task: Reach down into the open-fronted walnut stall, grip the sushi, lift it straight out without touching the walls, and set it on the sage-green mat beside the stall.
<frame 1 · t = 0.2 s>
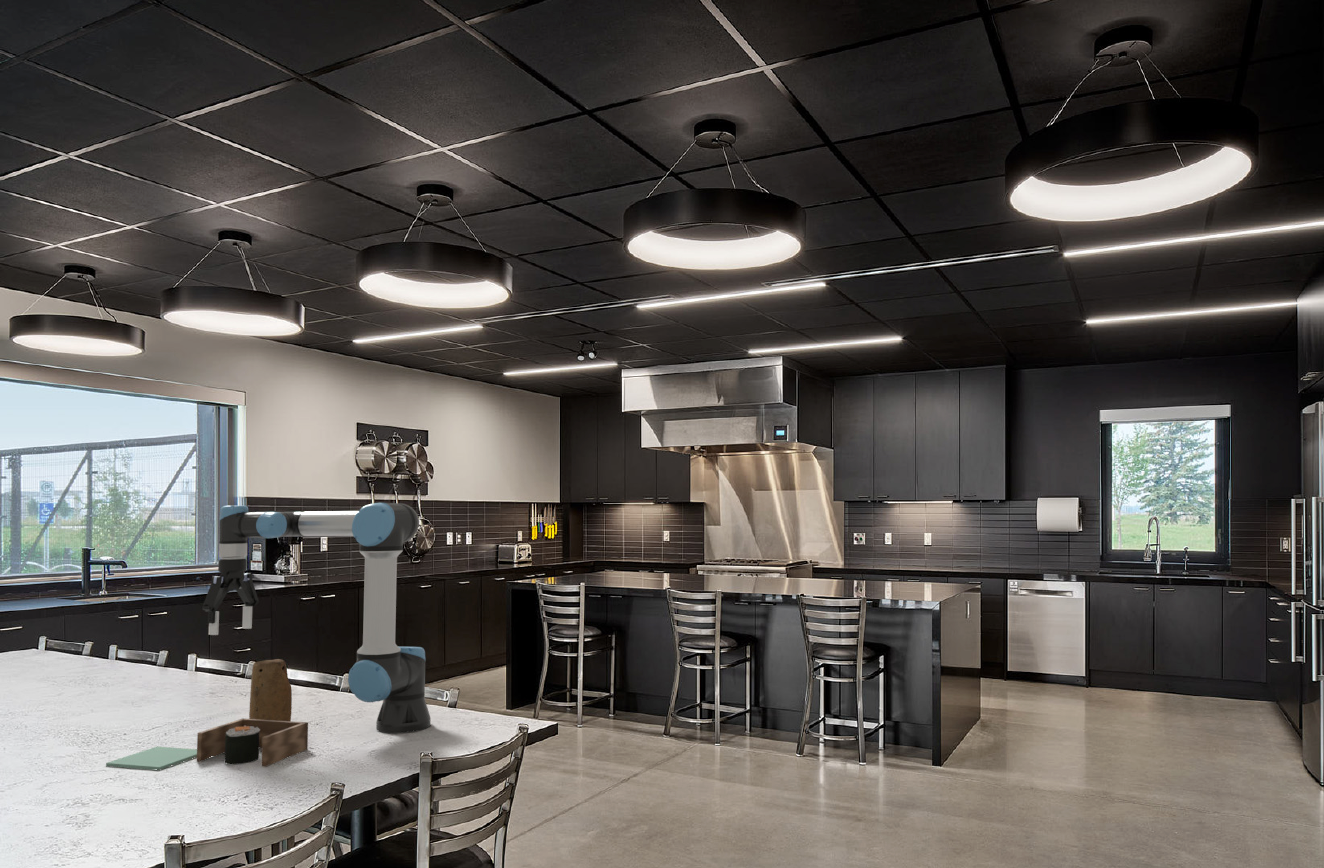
hand: (230, 631, 264), 28 cm above the table, tool pointing down, fingers open, 13 cm apart
mat: (158, 759, 230), on the table
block: (270, 732, 259), on the table
stall: (242, 759, 230), on the table
sushi: (242, 760, 230), on the table
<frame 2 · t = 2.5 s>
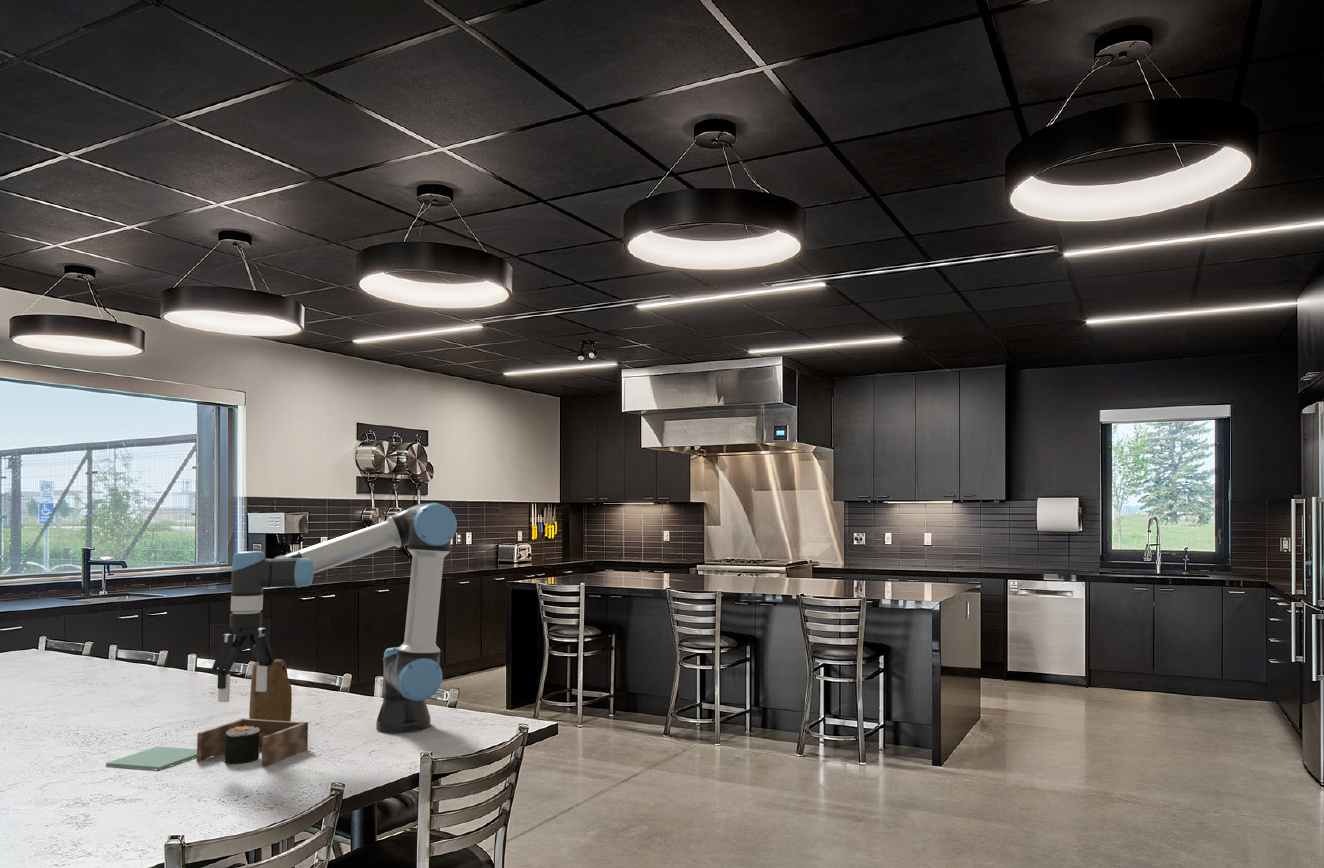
hand: (242, 696, 231), 16 cm above the table, tool pointing down, fingers open, 13 cm apart
nothing on the table moved.
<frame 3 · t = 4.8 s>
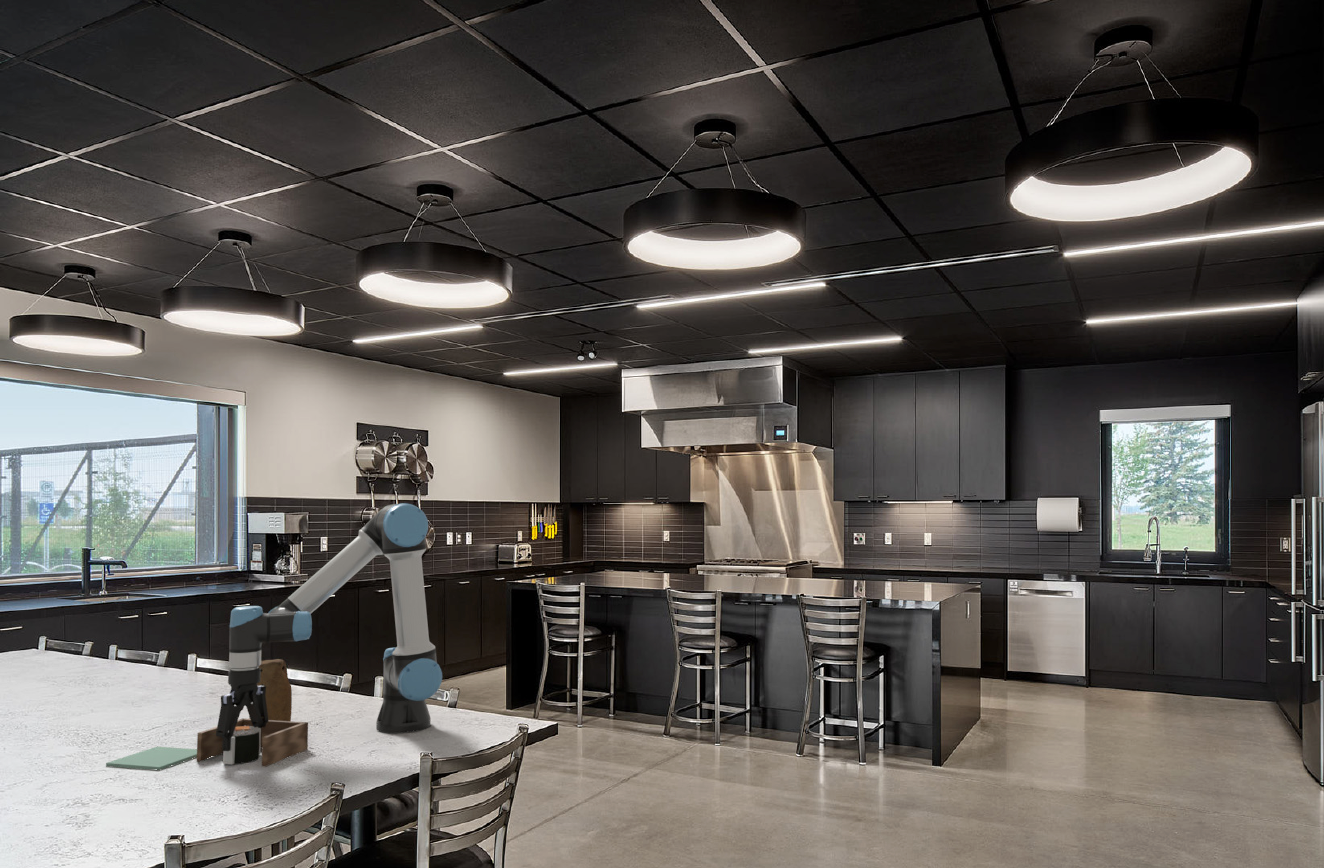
hand: (242, 758, 230), 0 cm above the table, tool pointing down, fingers closed on sushi, 9 cm apart
sushi: (242, 760, 230), on the table, touching gripper
everything else where it was.
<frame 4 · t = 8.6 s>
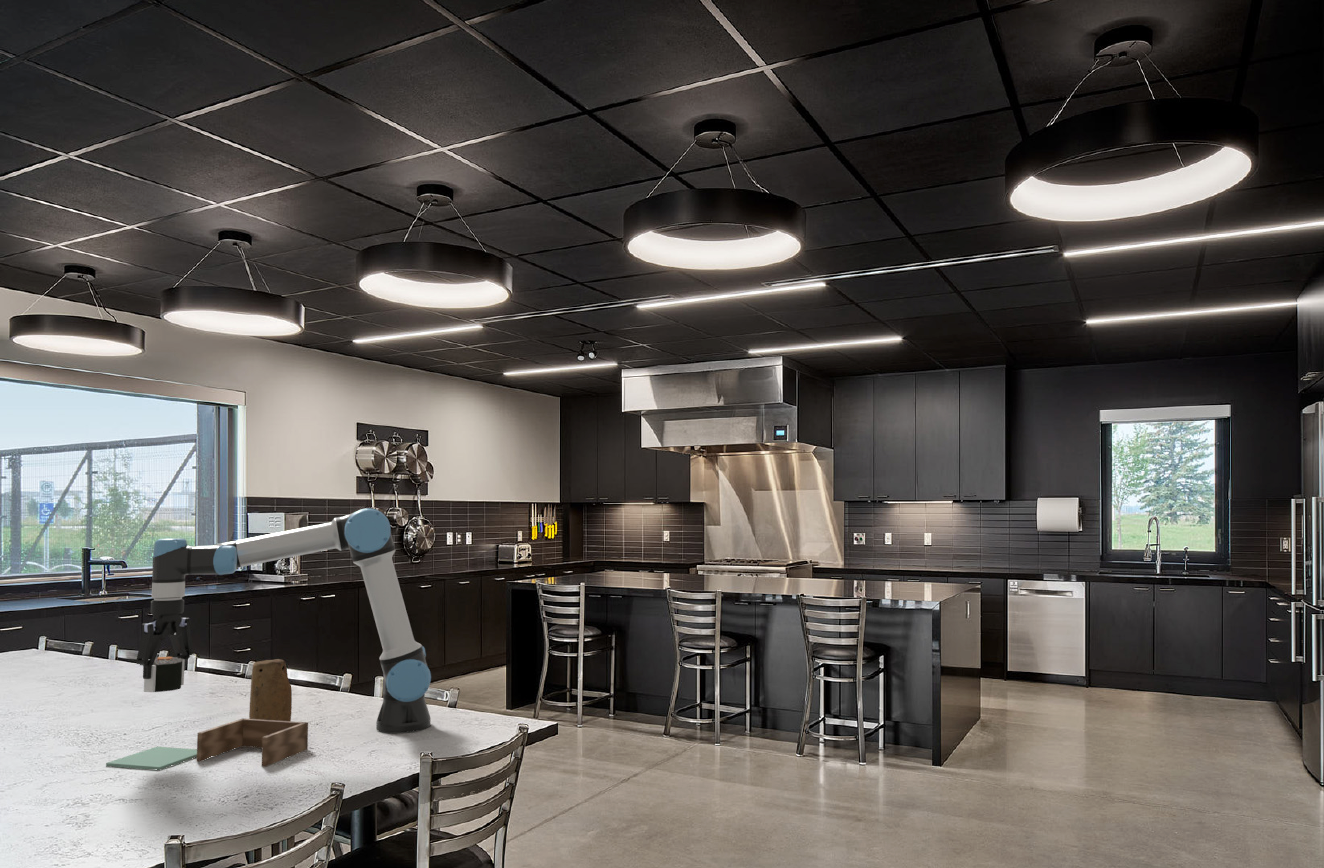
hand: (164, 688, 231), 18 cm above the table, tool pointing down, fingers closed on sushi, 9 cm apart
sushi: (164, 690, 231), point 17 cm above the table, touching gripper
everything else where it was.
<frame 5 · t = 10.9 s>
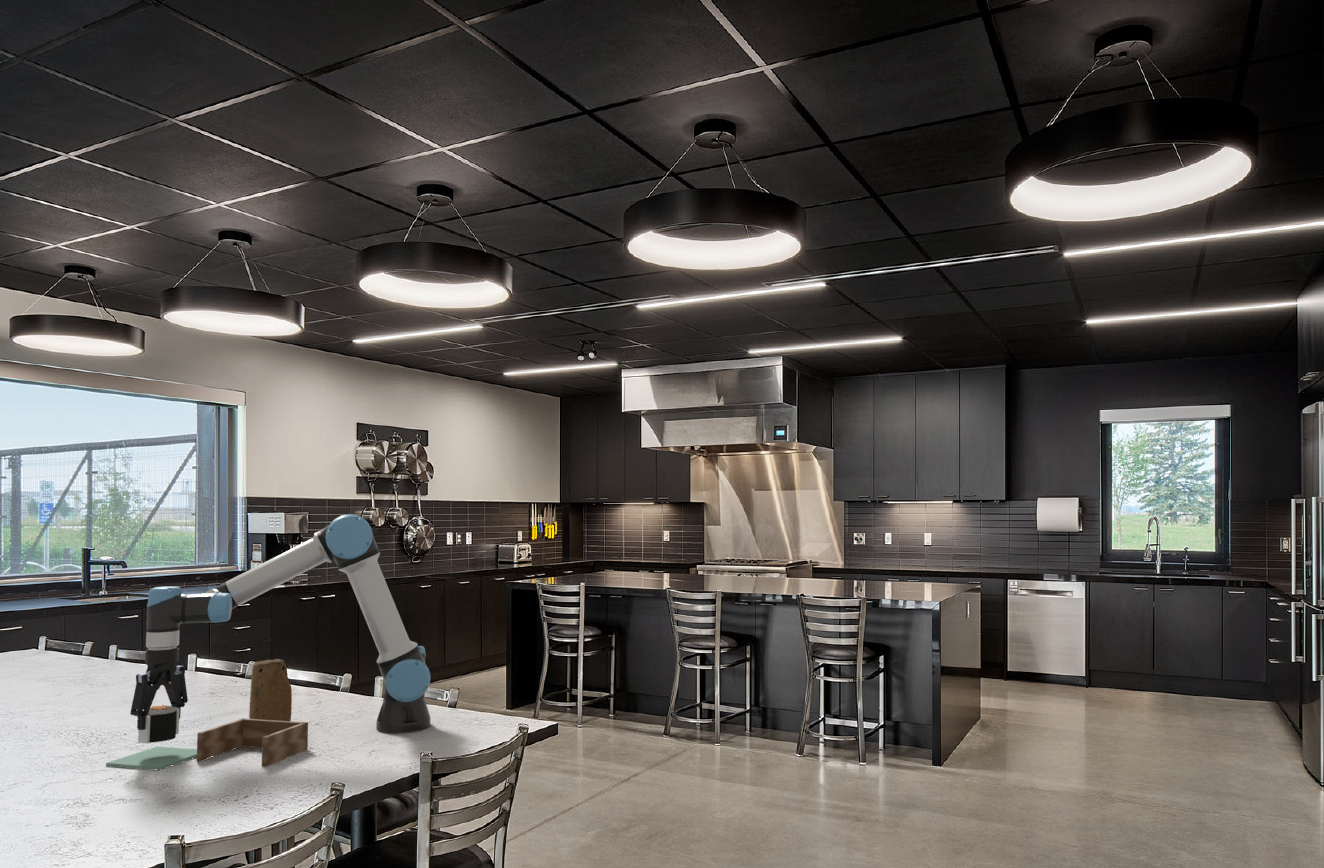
hand: (158, 737, 231), 5 cm above the table, tool pointing down, fingers closed on sushi, 9 cm apart
sushi: (158, 739, 231), point 5 cm above the table, touching gripper
everything else where it was.
when the fingers open (2 cm above the table, at t = 12.5 s): sushi drops 1 cm, resting on mat.
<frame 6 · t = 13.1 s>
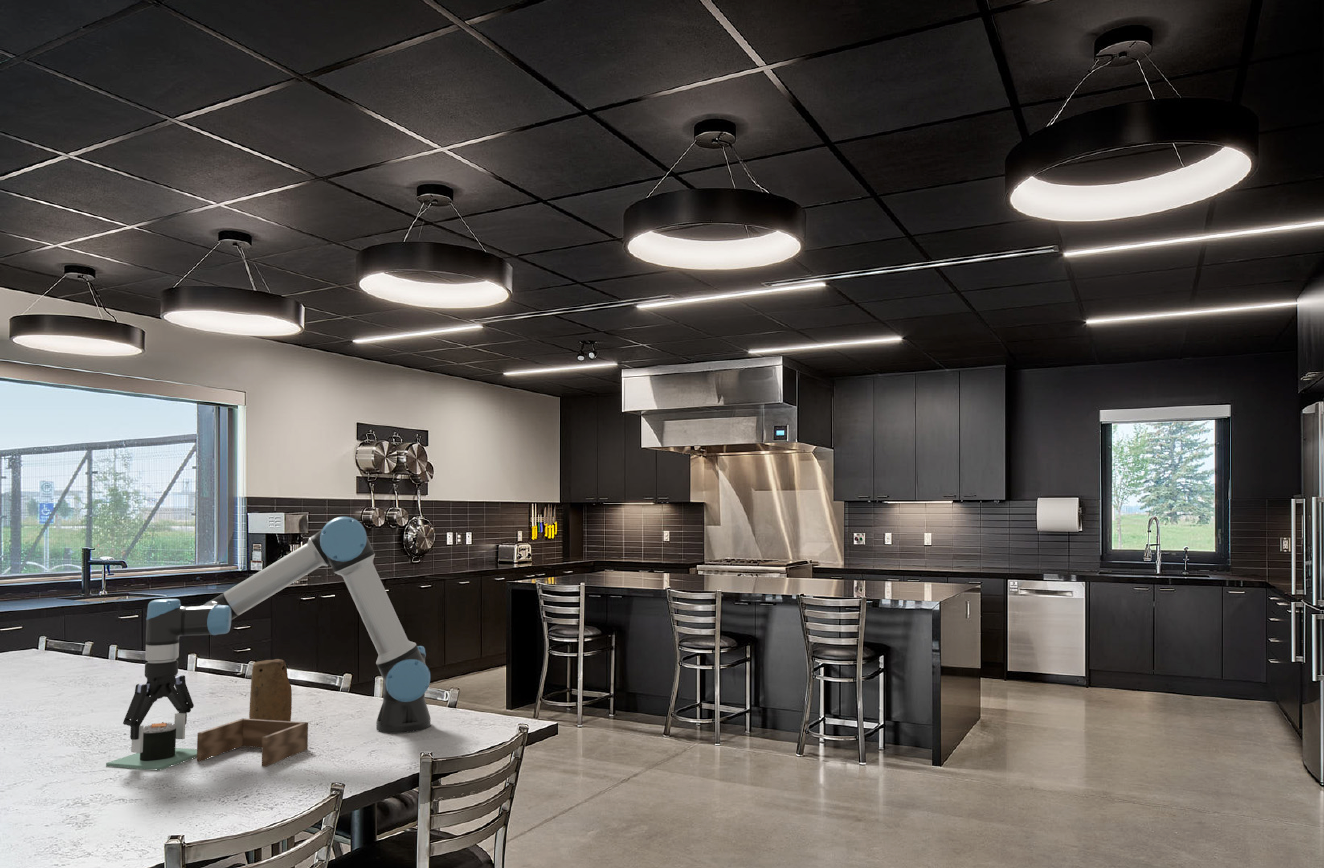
hand: (158, 745, 230), 4 cm above the table, tool pointing down, fingers open, 13 cm apart
sushi: (158, 757, 230), point 1 cm above the table, touching mat
everything else where it was.
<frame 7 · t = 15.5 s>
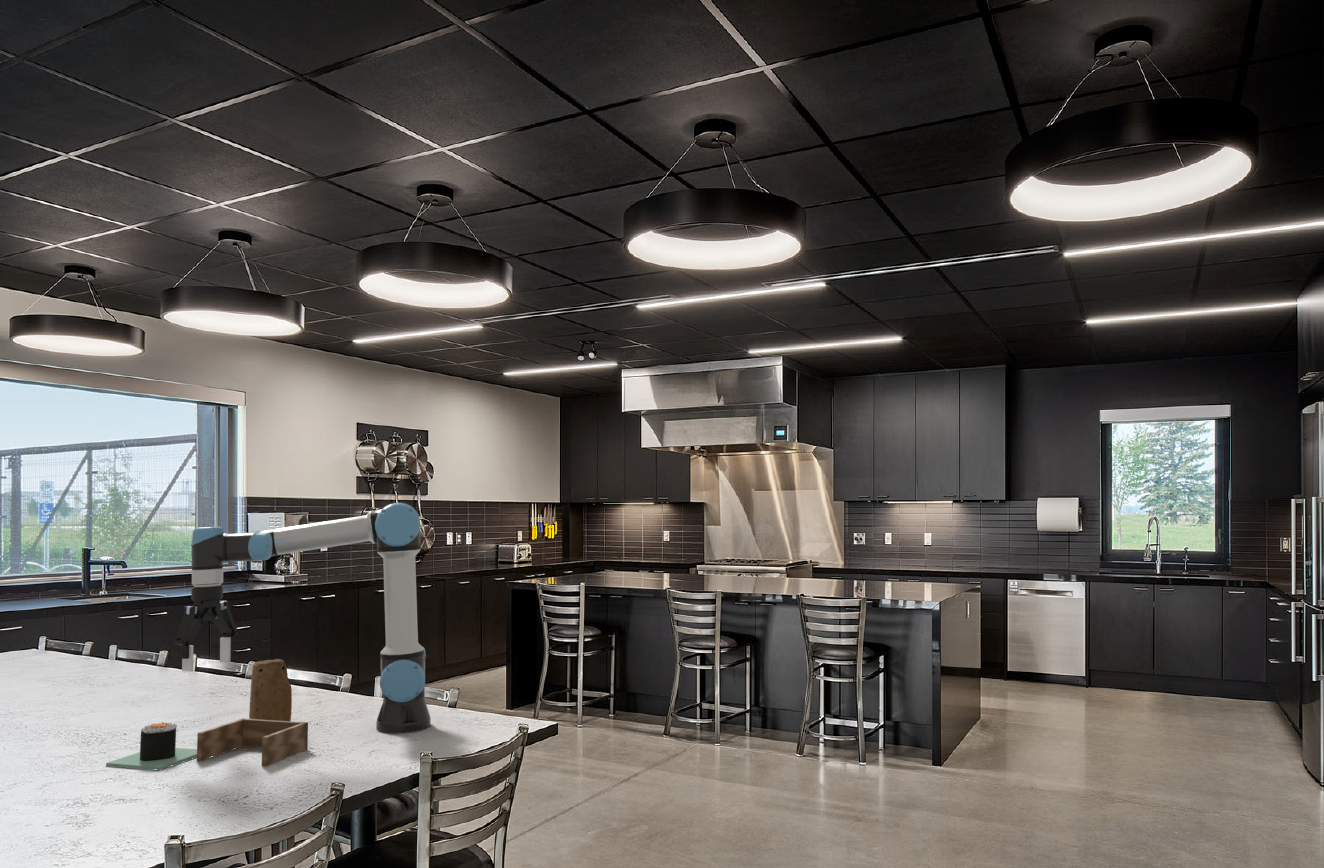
hand: (206, 666, 239), 22 cm above the table, tool pointing down, fingers open, 13 cm apart
nothing on the table moved.
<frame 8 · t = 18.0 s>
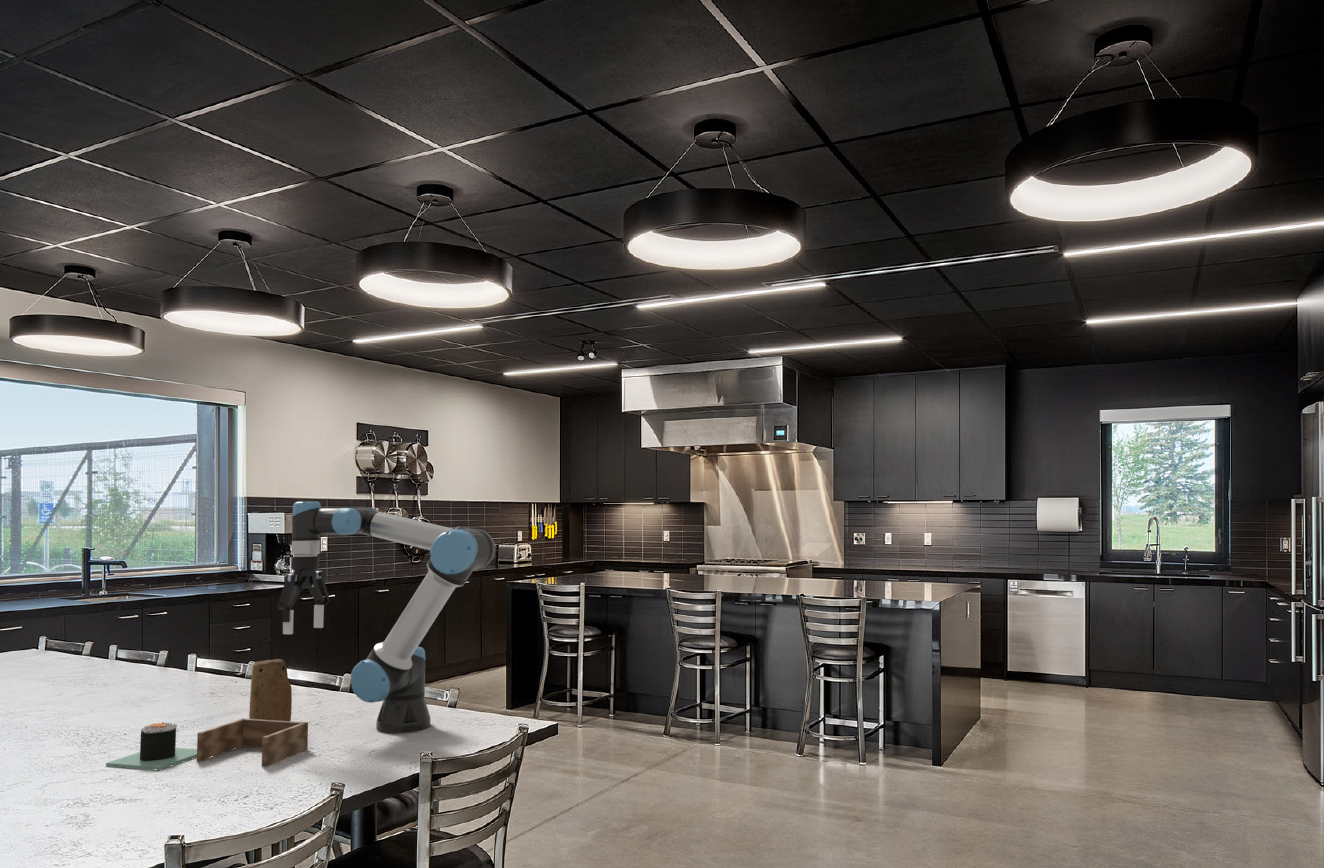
hand: (303, 631, 257), 29 cm above the table, tool pointing down, fingers open, 13 cm apart
nothing on the table moved.
at the end: sushi inside the target area on the mat (0.1 cm from its centre), point 0.6 cm above the mat's base; the gripper is holding nothing; sushi tilted 0° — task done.
